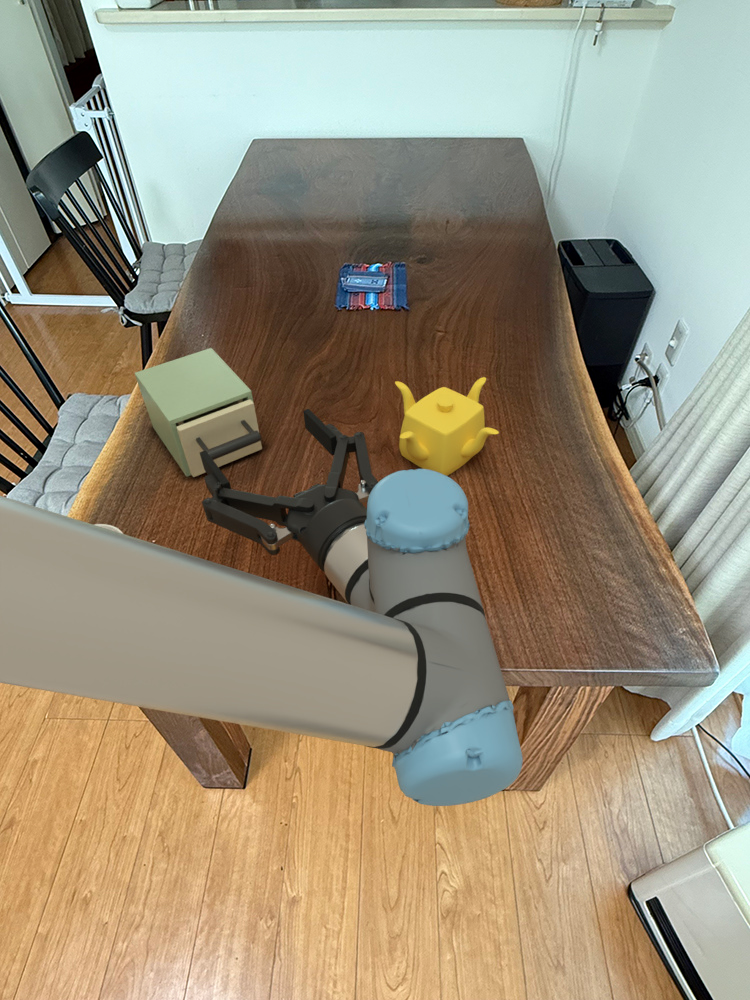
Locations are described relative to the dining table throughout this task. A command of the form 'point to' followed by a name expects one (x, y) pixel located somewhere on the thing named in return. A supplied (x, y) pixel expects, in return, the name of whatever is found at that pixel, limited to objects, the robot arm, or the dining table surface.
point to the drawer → (220, 435)
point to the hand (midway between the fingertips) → (257, 438)
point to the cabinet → (187, 394)
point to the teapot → (443, 428)
